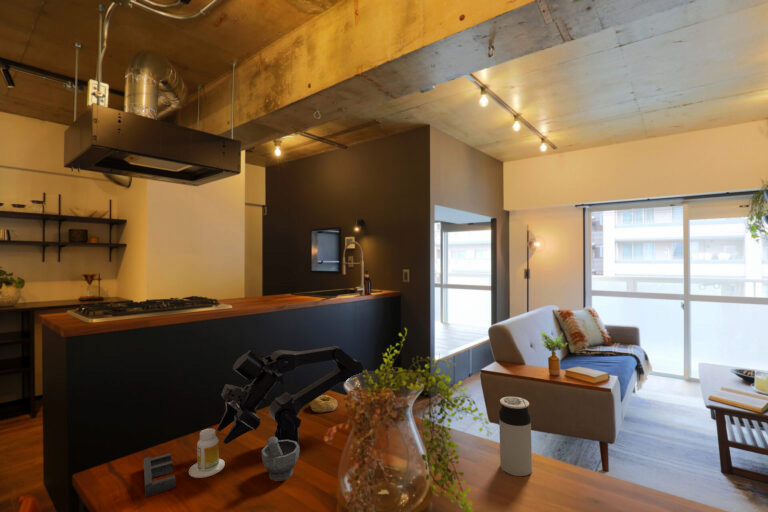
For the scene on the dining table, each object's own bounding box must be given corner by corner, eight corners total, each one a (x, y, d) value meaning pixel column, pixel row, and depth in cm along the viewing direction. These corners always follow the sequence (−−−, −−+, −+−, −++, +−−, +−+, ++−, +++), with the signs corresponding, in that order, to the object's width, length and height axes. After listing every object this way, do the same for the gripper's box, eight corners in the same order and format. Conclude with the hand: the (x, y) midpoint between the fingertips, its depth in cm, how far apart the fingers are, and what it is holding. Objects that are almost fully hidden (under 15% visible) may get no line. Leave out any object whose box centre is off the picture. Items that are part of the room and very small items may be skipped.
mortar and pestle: (272, 463, 106) (271, 420, 106) (304, 465, 105) (303, 421, 105) (253, 487, 95) (252, 439, 95) (289, 489, 93) (288, 441, 93)
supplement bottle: (222, 461, 106) (222, 427, 106) (212, 472, 101) (211, 436, 101) (204, 461, 107) (204, 426, 107) (193, 471, 102) (192, 435, 102)
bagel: (327, 415, 138) (327, 402, 138) (304, 410, 143) (303, 398, 143) (343, 406, 146) (342, 394, 146) (320, 402, 152) (320, 390, 152)
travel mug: (499, 474, 98) (498, 405, 98) (501, 458, 106) (499, 394, 106) (532, 479, 95) (530, 408, 96) (531, 463, 103) (530, 397, 103)
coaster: (227, 458, 109) (227, 456, 109) (220, 475, 100) (220, 473, 100) (194, 461, 107) (194, 460, 107) (184, 479, 99) (184, 478, 99)
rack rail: (170, 461, 108) (170, 451, 108) (175, 487, 95) (175, 475, 95) (144, 469, 104) (143, 458, 104) (145, 497, 92) (144, 484, 92)
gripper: (231, 366, 117) (193, 411, 111) (246, 381, 101) (203, 435, 95) (258, 385, 121) (223, 429, 115) (276, 403, 105) (237, 455, 99)
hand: (221, 436), depth 106 cm, fingers open, 9 cm apart
